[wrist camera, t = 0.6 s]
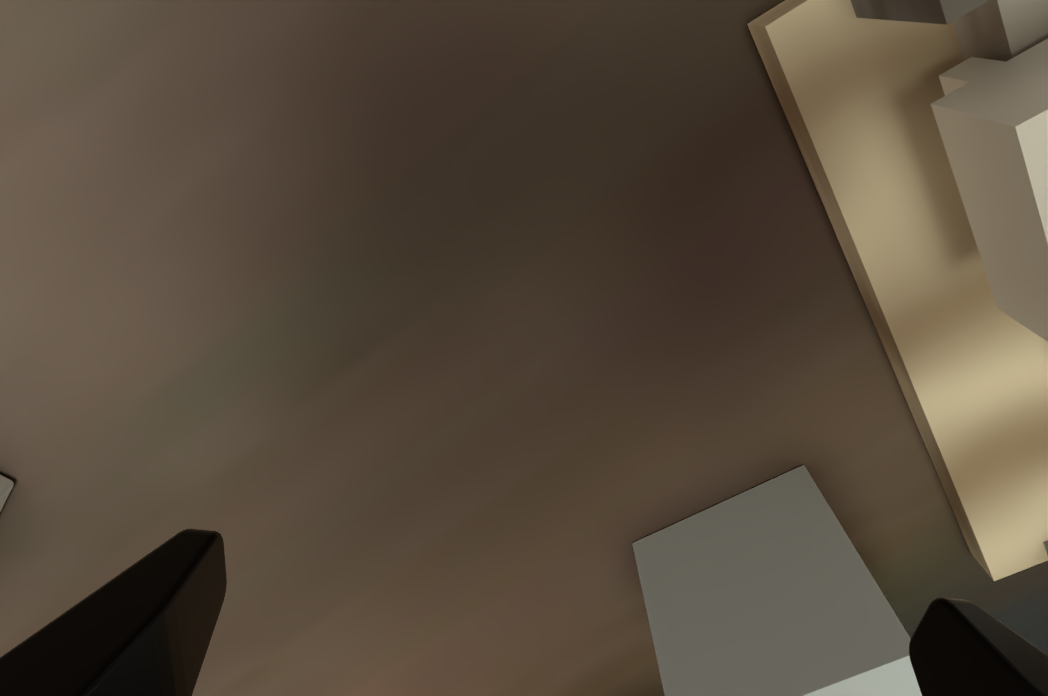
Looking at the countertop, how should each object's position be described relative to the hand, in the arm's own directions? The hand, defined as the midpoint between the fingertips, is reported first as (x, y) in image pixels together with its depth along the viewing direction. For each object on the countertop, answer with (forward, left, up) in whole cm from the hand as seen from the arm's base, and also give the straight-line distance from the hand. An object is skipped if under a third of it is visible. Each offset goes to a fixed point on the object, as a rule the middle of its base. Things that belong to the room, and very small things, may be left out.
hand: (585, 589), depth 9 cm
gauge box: (-16, 0, -14) cm, 21 cm away
